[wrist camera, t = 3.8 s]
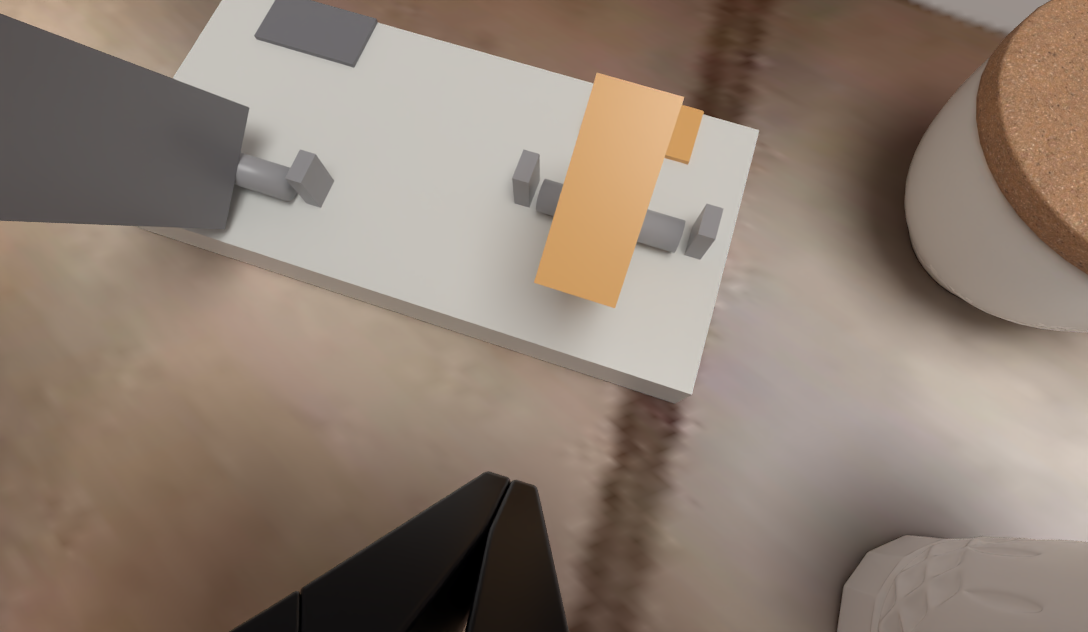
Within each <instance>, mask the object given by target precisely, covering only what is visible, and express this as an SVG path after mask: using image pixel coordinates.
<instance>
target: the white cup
mask: <svg viewBox="0 0 1088 632" xmlns="http://www.w3.org/2000/svg"><path fill="white" fill-rule="evenodd" d="M837 632H1088V542H1082V541H1073V540H1035V539H1026V538H1002V537H984V536H978V537H975V538H969V539H947V538H935V537H923V536H912V535H904V536H902V537H900V538H898V539H895V540H893V541H891V542H889V543H886V544H884V545H882V546H880V547H877V548H875V549H873V550H871V551H869V552H867V554H866V555H865V556H864V558H863V559H862V561H861V562H860V563H859V565H858V566H857V568H856V569H855V570H854V572H853V573H852V575H851V576H850V578H849V579H848V580H847V582H846V583H845V585H844V587H843V593H842V600H841V607H840V614H839V621H838V628H837Z"/></svg>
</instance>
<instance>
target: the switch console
mask: <svg viewBox="0 0 1088 632" xmlns="http://www.w3.org/2000/svg"><path fill="white" fill-rule="evenodd" d="M173 79H175V80H178V81H180V82H183V83H186V84H188V85H191V86H194V87H196V88H199V89H202V90H204V91H207V92H210V93H212V94H215V95H218V96H220V97H223V98H226V99H228V100H231V101H234V102H236V103H239V104H242V105H244V106H247V107H249V113H248V118H247V123H246V128H245V133H244V138H243V143H242V148H241V153H245V154H248V155H251V156H254V157H258V158H261V159H264V160H267V161H270V162H274V163H277V164H280V165H283V166H287V167H290V169H289V171H288V173H287V175H286V177H285V179H286V180H287V181H288V182H289V184H290V185H291V186H292V187H293V188H294V189H295V191H296V192H297V195H296V196H295V197H294V198H293V199H292V200H290V201H285V200H281V199H278V198H275V197H272V196H269V195H266V194H262V193H259V192H256V191H253V190H250V189H247V188H243V187H240V186H237V185H234V187H233V192H232V197H231V202H230V207H229V212H228V217H227V222H226V227H225V229H201V228H175V227H150V226H138V227H139V228H141V229H144V230H147V231H150V232H153V233H156V234H159V235H162V236H165V237H169V238H172V239H175V240H178V241H181V242H184V243H187V244H190V245H193V246H196V247H199V248H202V249H205V250H208V251H211V252H214V253H217V254H220V255H223V256H226V257H229V258H233V259H236V260H239V261H242V262H245V263H248V264H251V265H254V266H257V267H260V268H263V269H266V270H269V271H272V272H275V273H278V274H281V275H284V276H287V277H290V278H293V279H297V280H300V281H303V282H306V283H309V284H312V285H315V286H318V287H321V288H324V289H327V290H330V291H333V292H336V293H339V294H342V295H345V296H348V297H351V298H354V299H357V300H361V301H364V302H367V303H370V304H373V305H376V306H379V307H382V308H385V309H388V310H391V311H394V312H397V313H400V314H403V315H406V316H409V317H412V318H415V319H418V320H421V321H425V322H428V323H431V324H434V325H437V326H440V327H443V328H446V329H449V330H452V331H455V332H458V333H461V334H464V335H467V336H470V337H473V338H476V339H479V340H482V341H485V342H489V343H492V344H495V345H498V346H501V347H504V348H507V349H510V350H513V351H516V352H519V353H522V354H525V355H528V356H531V357H534V358H537V359H540V360H543V361H546V362H549V363H553V364H556V365H559V366H562V367H565V368H568V369H571V370H574V371H577V372H580V373H583V374H586V375H589V376H592V377H595V378H598V379H601V380H604V381H607V382H610V383H613V384H617V385H620V386H623V387H626V388H629V389H632V390H635V391H638V392H641V393H644V394H647V395H650V396H653V397H656V398H659V399H662V400H665V401H668V402H671V403H674V404H675V403H677V402H679V401H681V400H683V399H685V398H686V397H688V396H690V395H692V392H693V388H694V384H695V380H696V376H697V372H698V368H699V364H700V360H701V356H702V353H703V349H704V345H705V341H706V337H707V333H708V329H709V325H710V321H711V317H712V313H713V309H714V306H715V302H716V298H717V294H718V290H719V286H720V282H721V278H722V274H723V270H724V266H725V262H726V259H727V255H728V251H729V247H730V243H731V239H732V235H733V231H734V227H735V223H736V219H737V215H738V212H739V208H740V204H741V200H742V196H743V192H744V188H745V184H746V180H747V176H748V172H749V168H750V165H751V161H752V157H753V153H754V149H755V145H756V141H757V137H758V133H759V130H756V129H753V128H749V127H746V126H742V125H739V124H735V123H731V122H728V121H724V120H721V119H717V118H714V117H710V116H707V115H703V113H704V111H702V110H698V109H695V108H691V107H688V106H684V105H682V106H681V109H680V112H679V115H678V118H677V121H676V124H675V127H674V130H673V133H672V136H671V139H670V142H669V145H668V148H667V151H666V154H665V157H664V161H663V164H662V167H661V170H660V173H659V176H658V179H657V182H656V185H655V188H654V191H653V194H652V197H651V200H650V203H649V206H648V209H649V210H652V211H656V212H659V213H662V214H666V215H669V216H672V217H676V218H679V219H682V220H685V221H686V222H685V227H684V231H683V234H682V237H681V240H680V242H679V245H678V247H677V249H676V251H675V253H672V252H669V251H666V250H663V249H659V248H656V247H653V246H650V245H646V244H643V243H640V242H637V243H636V246H635V249H634V252H633V255H632V258H631V261H630V264H629V267H628V270H627V273H626V276H625V280H624V283H623V286H622V289H621V292H620V295H619V298H618V301H617V304H616V307H615V308H612V307H609V306H606V305H603V304H600V303H596V302H593V301H590V300H587V299H584V298H581V297H577V296H574V295H571V294H568V293H565V292H562V291H558V290H555V289H552V288H549V287H546V286H543V285H539V284H536V283H534V280H535V277H536V274H537V270H538V267H539V264H540V260H541V257H542V254H543V250H544V247H545V244H546V241H547V237H548V234H549V231H550V227H551V224H552V221H553V217H554V216H551V215H548V214H545V213H541V212H538V211H536V203H537V198H538V194H539V191H540V188H541V185H542V183H543V181H544V179H549V180H552V181H555V182H559V183H562V184H564V181H565V177H566V174H567V171H568V167H569V164H570V161H571V157H572V154H573V151H574V147H575V144H576V141H577V137H578V134H579V131H580V127H581V124H582V121H583V117H584V114H585V111H586V107H587V104H588V101H589V97H590V94H591V91H592V87H593V83H590V82H586V81H583V80H579V79H575V78H572V77H568V76H565V75H561V74H558V73H554V72H551V71H547V70H544V69H540V68H536V67H533V66H529V65H526V64H522V63H519V62H515V61H512V60H508V59H505V58H501V57H497V56H494V55H490V54H487V53H483V52H480V51H476V50H473V49H469V48H466V47H462V46H458V45H455V44H451V43H448V42H444V41H441V40H437V39H434V38H430V37H427V36H423V35H419V34H416V33H412V32H409V31H405V30H402V29H398V28H395V27H391V26H388V25H384V24H380V23H378V22H377V19H375V18H371V17H368V16H364V15H361V14H357V13H354V12H350V11H347V10H343V9H339V8H336V7H332V6H329V5H325V4H322V3H318V2H315V1H311V0H222V1H221V3H220V4H219V6H218V8H217V9H216V11H215V12H214V14H213V15H212V17H211V19H210V20H209V22H208V23H207V25H206V27H205V28H204V30H203V31H202V33H201V35H200V36H199V38H198V39H197V41H196V42H195V44H194V46H193V47H192V49H191V50H190V52H189V54H188V55H187V57H186V58H185V60H184V61H183V63H182V65H181V66H180V68H179V69H178V71H177V73H176V74H175V76H174V77H173Z"/></svg>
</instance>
